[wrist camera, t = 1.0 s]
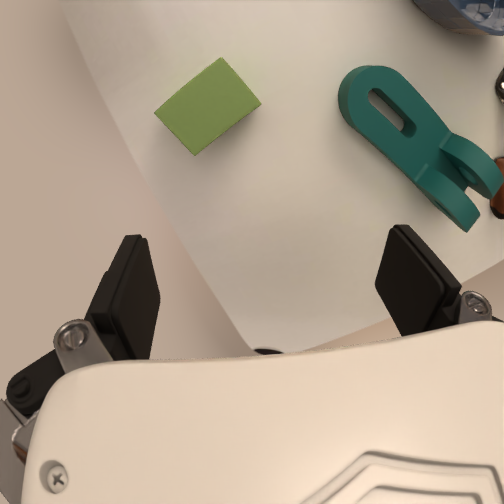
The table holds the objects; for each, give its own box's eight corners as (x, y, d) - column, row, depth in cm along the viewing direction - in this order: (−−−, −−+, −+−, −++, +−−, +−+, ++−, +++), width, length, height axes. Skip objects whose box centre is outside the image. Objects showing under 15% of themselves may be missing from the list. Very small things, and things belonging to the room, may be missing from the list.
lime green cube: (167, 105, 22) (153, 113, 18) (222, 60, 20) (221, 56, 16) (200, 141, 24) (194, 156, 20) (255, 99, 22) (262, 104, 18)
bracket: (466, 164, 26) (511, 192, 20) (435, 206, 29) (475, 242, 23) (364, 51, 20) (413, 48, 13) (323, 105, 23) (360, 119, 16)
